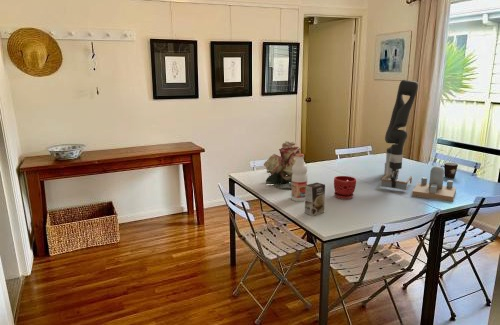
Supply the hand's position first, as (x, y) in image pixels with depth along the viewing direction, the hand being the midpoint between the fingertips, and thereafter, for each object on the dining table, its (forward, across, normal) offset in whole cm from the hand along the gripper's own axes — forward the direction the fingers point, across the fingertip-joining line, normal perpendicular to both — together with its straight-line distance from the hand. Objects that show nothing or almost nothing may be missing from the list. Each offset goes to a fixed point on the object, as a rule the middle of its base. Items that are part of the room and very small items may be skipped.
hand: (393, 186), depth 236 cm
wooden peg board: (+2, -4, +23) cm, 24 cm away
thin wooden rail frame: (+1, -8, 0) cm, 8 cm away
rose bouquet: (+2, +24, -65) cm, 69 cm away
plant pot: (+2, +29, -22) cm, 37 cm away
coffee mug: (+2, -49, +26) cm, 56 cm away
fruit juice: (+2, +47, -44) cm, 65 cm away
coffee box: (+2, +63, -27) cm, 69 cm away
